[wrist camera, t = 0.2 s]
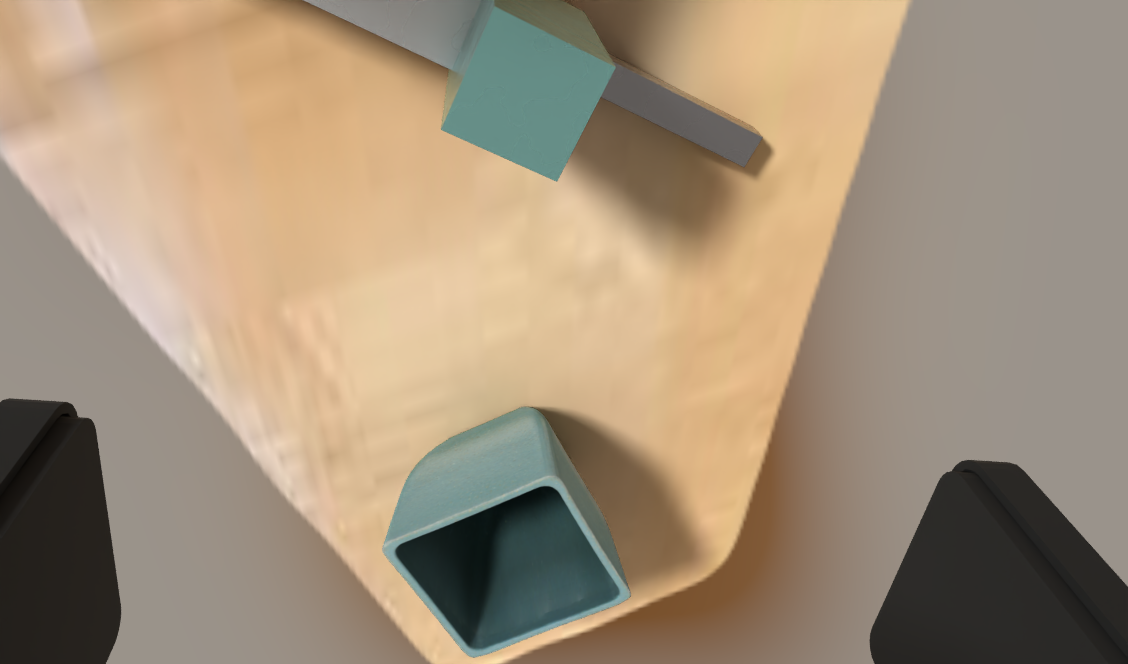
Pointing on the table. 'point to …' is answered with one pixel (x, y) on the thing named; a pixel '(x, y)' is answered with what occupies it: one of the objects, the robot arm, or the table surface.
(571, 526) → the flower pot
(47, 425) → the robot arm
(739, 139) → the rail
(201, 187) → the table surface
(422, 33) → the sled
